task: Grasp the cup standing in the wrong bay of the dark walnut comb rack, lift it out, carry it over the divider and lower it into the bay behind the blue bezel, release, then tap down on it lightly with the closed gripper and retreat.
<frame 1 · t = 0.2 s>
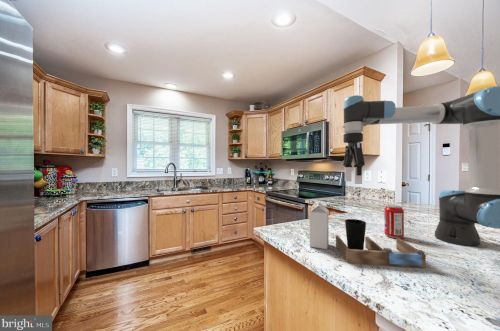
hand: (352, 182, 89), 27 cm above the countertop, fingers open, 13 cm apart
soda can: (394, 237, 101), on the countertop
milk carton: (319, 246, 90), on the countertop
cup: (355, 251, 85), on the countertop
comb rack: (375, 255, 80), on the countertop
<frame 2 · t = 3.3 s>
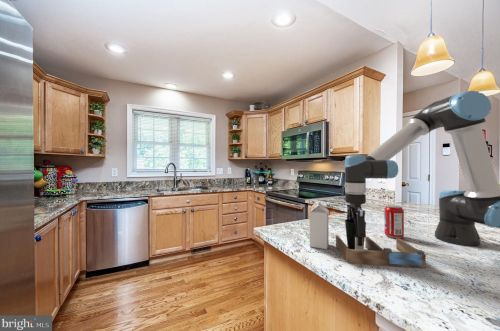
hand: (355, 249, 85), 1 cm above the countertop, fingers closed on cup, 8 cm apart
cup: (355, 251, 85), on the countertop, touching gripper
everything else where it was.
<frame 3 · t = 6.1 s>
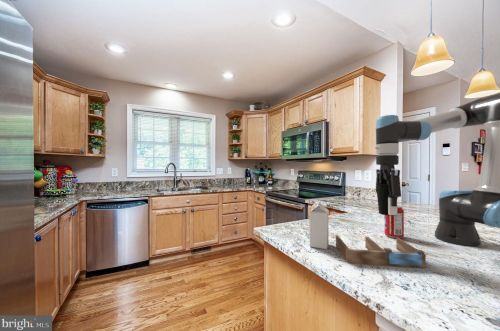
hand: (387, 212, 83), 16 cm above the countertop, fingers closed on cup, 8 cm apart
cup: (387, 214, 83), point 15 cm above the countertop, touching gripper
everything else where it was.
when the fingers open (2 cm above the countertop, at t = 8.9 s): cup drops 1 cm, on the countertop.
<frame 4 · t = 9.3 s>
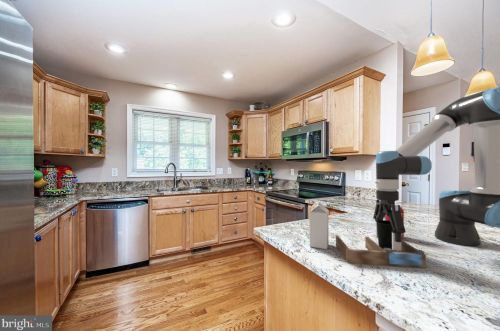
hand: (387, 243, 83), 4 cm above the countertop, fingers open, 13 cm apart
cup: (387, 253, 83), on the countertop
everything else where it was.
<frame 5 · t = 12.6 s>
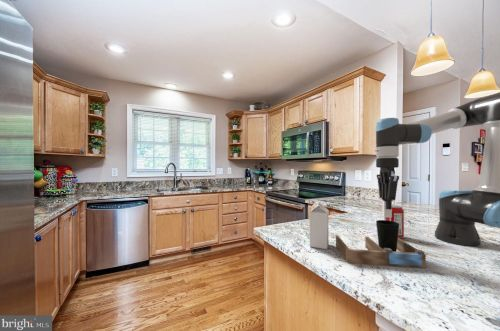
hand: (387, 216, 83), 14 cm above the countertop, fingers closed
nothing on the countertop moved.
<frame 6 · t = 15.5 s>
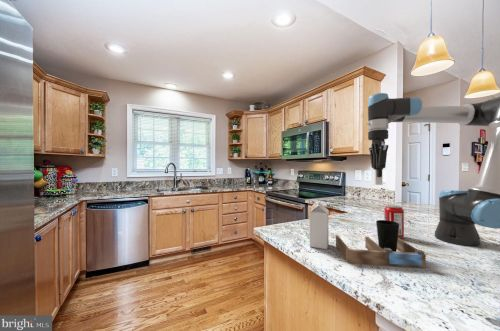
hand: (378, 184, 90), 26 cm above the countertop, fingers closed
nothing on the countertop moved.
at the end: cup inside the target area on the comb rack (0.8 cm from its centre), point 0.0 cm above the comb rack's base; cup tilted 0°; the gripper is holding nothing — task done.
